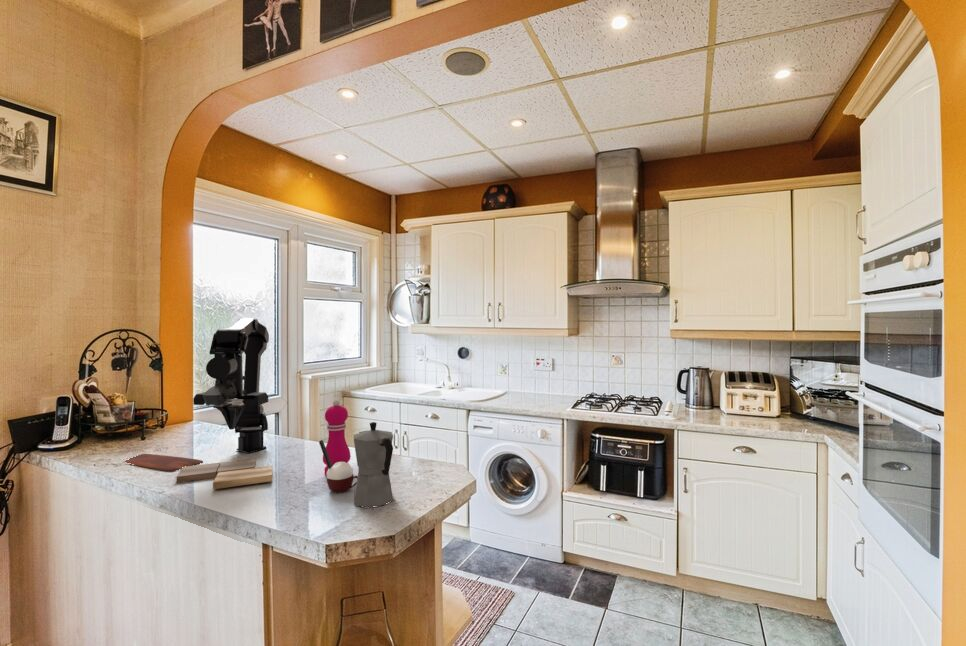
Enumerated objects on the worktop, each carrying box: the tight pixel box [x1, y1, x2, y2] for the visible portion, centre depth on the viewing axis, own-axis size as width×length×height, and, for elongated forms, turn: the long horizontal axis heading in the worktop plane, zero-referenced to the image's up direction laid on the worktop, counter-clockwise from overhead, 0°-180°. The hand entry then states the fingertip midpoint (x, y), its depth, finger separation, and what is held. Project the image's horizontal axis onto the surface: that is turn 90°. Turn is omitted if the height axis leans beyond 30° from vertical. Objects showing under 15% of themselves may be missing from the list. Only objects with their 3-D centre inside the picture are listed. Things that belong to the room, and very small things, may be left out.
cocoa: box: [318, 439, 358, 494], centre depth 109 cm, size 10×6×12 cm, turn 67°
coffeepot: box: [353, 421, 394, 508], centre depth 102 cm, size 15×9×18 cm, turn 39°
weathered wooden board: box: [176, 458, 257, 483], centre depth 122 cm, size 9×18×2 cm, turn 115°
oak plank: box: [212, 465, 274, 490], centre depth 115 cm, size 10×13×2 cm
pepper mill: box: [322, 399, 351, 477], centre depth 121 cm, size 7×7×20 cm
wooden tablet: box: [125, 453, 204, 472], centre depth 132 cm, size 27×10×2 cm, turn 68°
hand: (231, 429), depth 124 cm, fingers closed
